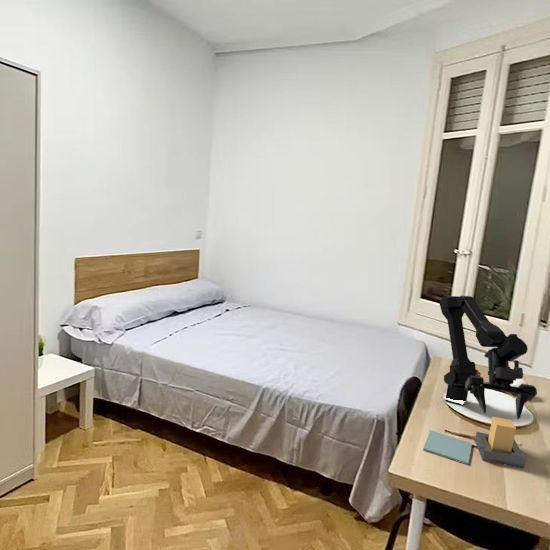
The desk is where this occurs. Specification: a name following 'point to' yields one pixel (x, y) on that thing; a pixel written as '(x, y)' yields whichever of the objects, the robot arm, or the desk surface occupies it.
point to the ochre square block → (501, 434)
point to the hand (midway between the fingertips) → (501, 415)
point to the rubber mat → (448, 447)
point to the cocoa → (518, 381)
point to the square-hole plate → (499, 452)
